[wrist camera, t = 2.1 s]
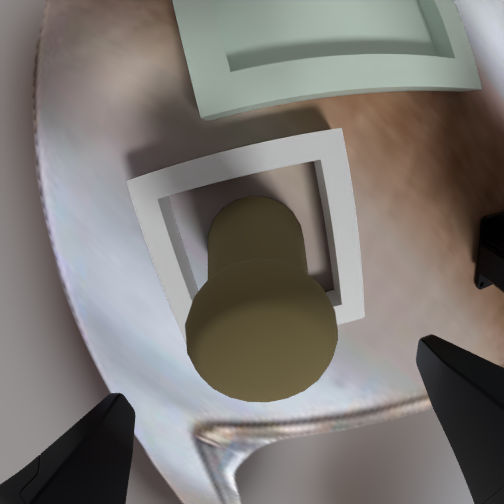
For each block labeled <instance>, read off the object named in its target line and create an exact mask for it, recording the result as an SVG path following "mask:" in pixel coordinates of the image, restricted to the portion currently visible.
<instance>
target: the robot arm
mask: <svg viewBox="0 0 504 504" xmlns="http://www.w3.org/2000/svg"><path fill="white" fill-rule="evenodd" d="M492 284H493V285H495V286H496V287H497V288H498V289H500V290H501V291H502V292H504V211H503V212H500V213H496V214H492V215H488V216H485V217H483V218H482V220H481V228H480V246H479V259H478V269H477V277H476V287H477V288H478V289H483V288H485V287H488V286H490V285H492ZM416 363H417V367H418V369H419V372H420V374H421V377H422V380H423V382H424V385H425V388H426V390H427V393H428V396H429V399H430V401H431V404H432V406H433V409H434V411H435V413H436V415H437V417H438V419H439V421H440V423H441V425H442V427H443V430H444V431H445V434H446V436H447V438H448V440H449V442H450V445H451V447H452V449H453V451H454V454H455V456H456V458H457V461H458V463H459V465H460V468H461V470H462V473H463V475H464V477H465V480H466V483H467V485H468V488H469V490H470V493H471V496H472V498H473V501H474V504H504V368H503V367H500V366H498V365H496V364H494V363H492V362H490V361H488V360H486V359H484V358H481V357H479V356H477V355H475V354H473V353H471V352H469V351H467V350H465V349H462V348H460V347H458V346H456V345H454V344H452V343H450V342H448V341H446V340H443V339H441V338H439V337H437V336H435V335H428V336H425V337H422V338H421V339H420V340H419V342H418V349H417V356H416ZM134 427H135V411H134V409H133V407H132V406H131V405H130V403H129V402H128V400H127V399H126V398H125V396H124V395H123V394H121V393H110V394H109V395H108V396H107V397H105V398H104V399H103V400H102V401H101V402H100V403H99V404H97V405H96V406H95V407H94V408H93V409H92V410H91V411H89V412H88V413H87V414H86V415H85V416H84V417H83V418H82V419H80V420H79V421H78V422H77V423H76V424H75V425H73V426H72V427H71V428H70V429H69V430H68V431H67V432H65V433H64V434H63V435H62V436H61V437H60V438H59V439H57V440H56V441H55V442H54V443H53V444H52V445H51V446H49V447H48V448H47V449H46V450H45V451H43V452H42V453H41V455H39V456H38V457H36V458H35V459H34V460H33V461H32V462H31V463H29V464H28V465H27V466H26V467H24V468H23V469H22V470H20V471H19V472H18V473H16V474H15V475H13V476H12V477H11V478H9V479H8V480H6V481H5V482H3V483H2V484H0V504H125V502H126V495H127V488H128V480H129V474H130V468H131V461H132V455H133V441H134Z"/></svg>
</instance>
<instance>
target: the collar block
mask: <svg viewBox="0 0 504 504" xmlns="http://www.w3.org/2000/svg"><path fill="white" fill-rule="evenodd" d="M310 161H314V166H315V171H316V176H317V181H318V187H319V192H320V198H321V203H322V209H323V215H324V221H325V227H326V234H327V240H328V247H329V254H330V261H331V269H332V276H333V285H334V290H331V291H327V292H325V293H326V295H327V296H328V298H329V300H330V302H331V304H332V306H333V308H334V310H335V314H336V321H337V325H339V324H343V323H347V322H350V321H354V320H358V319H361V318H365V316H364V294H363V278H362V265H361V254H360V243H359V234H358V225H357V217H356V209H355V202H354V195H353V188H352V182H351V176H350V170H349V164H348V158H347V153H346V148H345V142H344V137H343V133H342V128H338V129H330V130H324V131H318V132H312V133H306V134H301V135H295V136H290V137H285V138H280V139H275V140H270V141H265V142H261V143H256V144H252V145H247V146H243V147H239V148H235V149H231V150H227V151H223V152H219V153H215V154H211V155H208V156H204V157H200V158H197V159H193V160H190V161H186V162H183V163H179V164H176V165H173V166H170V167H166V168H163V169H160V170H157V171H154V172H151V173H148V174H145V175H142V176H139V177H136V178H133V179H130V180H128V181H126V182H127V185H128V189H129V192H130V195H131V199H132V202H133V205H134V208H135V211H136V215H137V218H138V221H139V224H140V227H141V230H142V233H143V236H144V239H145V241H146V244H147V247H148V250H149V253H150V255H151V258H152V261H153V264H154V266H155V269H156V272H157V274H158V277H159V280H160V282H161V285H162V287H163V290H164V292H165V295H166V297H167V300H168V302H169V305H170V307H171V310H172V312H173V314H174V317H175V319H176V321H177V324H178V326H179V328H180V331H181V333H182V335H183V337H184V340H185V342H186V332H185V323H186V320H187V317H188V314H189V311H190V308H191V305H192V302H193V299H194V296H195V295H196V294H197V293H198V288H197V285H196V282H195V279H194V276H193V273H192V270H191V268H190V265H189V262H188V259H187V256H186V253H185V249H184V246H183V243H182V240H181V237H180V234H179V231H178V228H177V224H176V221H175V218H174V215H173V211H172V208H171V205H170V201H169V198H168V196H169V195H172V194H176V193H179V192H183V191H186V190H190V189H194V188H197V187H201V186H205V185H209V184H213V183H216V182H220V181H224V180H228V179H232V178H237V177H241V176H245V175H249V174H253V173H258V172H262V171H267V170H271V169H276V168H281V167H285V166H290V165H295V164H300V163H305V162H310Z"/></svg>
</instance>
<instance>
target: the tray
mask: <svg viewBox="0 0 504 504" xmlns="http://www.w3.org/2000/svg"><path fill="white" fill-rule="evenodd" d="M172 1H173V6H174V10H175V14H176V19H177V23H178V27H179V31H180V36H181V40H182V44H183V48H184V52H185V57H186V61H187V65H188V69H189V73H190V77H191V81H192V85H193V89H194V93H195V97H196V101H197V105H198V109H199V113H200V117H201V118H202V119H204V120H206V121H211V120H214V119H218V118H222V117H226V116H230V115H234V114H238V113H242V112H247V111H251V110H256V109H261V108H265V107H270V106H276V105H281V104H286V103H292V102H298V101H304V100H311V99H318V98H325V97H333V96H342V95H352V94H363V93H376V92H395V91H452V92H464V91H473V90H482V87H481V82H480V78H479V74H478V70H477V66H476V63H475V59H474V56H473V52H472V49H471V46H470V43H469V40H468V37H467V34H466V31H465V28H464V25H463V23H462V20H461V18H460V15H459V13H458V10H457V8H456V5H455V3H454V1H453V0H172Z"/></svg>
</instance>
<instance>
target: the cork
mask: <svg viewBox="0 0 504 504" xmlns="http://www.w3.org/2000/svg"><path fill="white" fill-rule="evenodd" d="M185 332H186V344H187V353H188V355H189V357H190V359H191V361H192V363H193V365H194V367H195V369H196V371H197V372H198V373H199V375H200V376H201V377H202V378H203V379H204V380H205V381H206V382H207V383H208V384H209V385H210V386H211V387H212V388H213V389H215V390H217V391H219V392H221V393H223V394H225V395H226V396H228V397H231V398H235V399H239V400H243V401H248V402H271V401H276V400H281V399H286V398H289V397H291V396H293V395H296V394H298V393H300V392H303V391H304V390H306V389H307V388H308V387H310V386H311V385H312V384H314V383H315V382H316V381H317V380H319V378H320V377H321V376H322V374H323V373H324V371H325V370H326V369H327V367H328V366H329V364H330V362H331V360H332V358H333V355H334V352H335V348H336V345H337V341H338V329H337V321H336V314H335V310H334V308H333V306H332V304H331V302H330V300H329V298H328V296H327V295H326V293H325V291H324V290H323V288H322V286H321V285H320V284H319V283H318V282H317V281H315V280H314V279H313V278H312V277H310V276H309V275H308V268H307V260H306V252H305V245H304V238H303V233H302V229H301V225H300V223H299V222H298V220H297V218H296V217H295V215H294V213H293V212H292V211H291V210H289V209H288V208H287V207H286V206H285V205H283V204H282V203H281V202H278V201H276V200H273V199H270V198H268V197H257V196H250V197H246V198H242V199H238V200H235V201H234V202H232V203H230V204H229V205H227V206H226V207H224V208H223V209H222V210H221V211H220V212H219V214H218V215H217V216H216V217H215V219H214V220H213V222H212V225H211V228H210V231H209V233H208V281H207V282H206V283H205V284H204V285H203V287H202V288H201V289H200V290H199V291H198V293H197V294H196V295H195V296H194V299H193V302H192V305H191V308H190V311H189V314H188V317H187V320H186V323H185Z"/></svg>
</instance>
